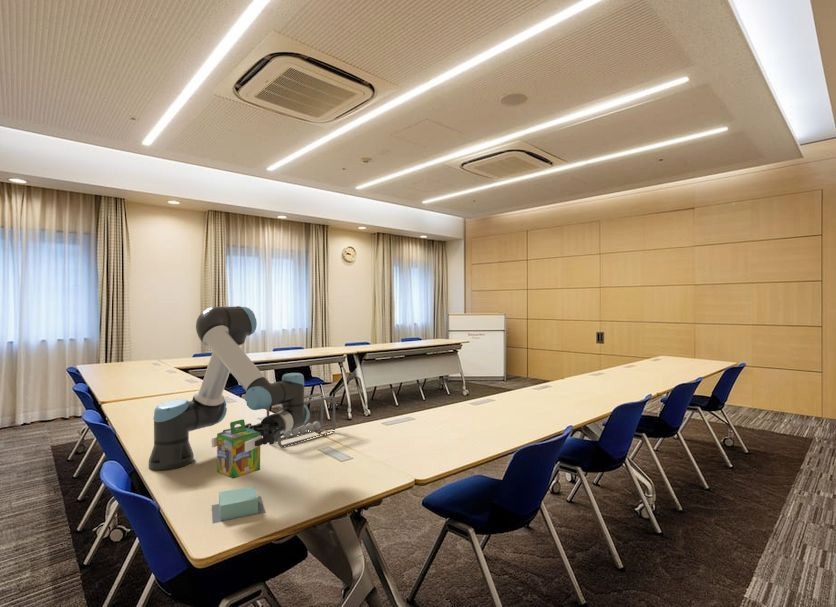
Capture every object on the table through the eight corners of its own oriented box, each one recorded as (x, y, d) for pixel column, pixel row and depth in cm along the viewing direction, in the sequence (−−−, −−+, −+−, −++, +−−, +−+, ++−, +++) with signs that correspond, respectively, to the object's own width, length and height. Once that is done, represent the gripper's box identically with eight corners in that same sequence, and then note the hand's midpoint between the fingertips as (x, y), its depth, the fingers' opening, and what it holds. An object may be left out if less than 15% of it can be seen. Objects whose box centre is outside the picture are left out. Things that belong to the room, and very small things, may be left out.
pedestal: (220, 520, 122) (220, 505, 122) (219, 505, 131) (219, 492, 131) (258, 512, 127) (258, 498, 127) (254, 498, 136) (254, 485, 136)
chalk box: (232, 480, 123) (232, 427, 123) (215, 472, 128) (215, 422, 128) (261, 470, 130) (261, 420, 130) (244, 463, 136) (244, 415, 136)
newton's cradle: (278, 448, 185) (279, 407, 185) (266, 443, 191) (266, 403, 191) (335, 433, 207) (335, 395, 207) (322, 428, 214) (322, 392, 214)
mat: (212, 525, 121) (212, 523, 121) (211, 507, 131) (211, 505, 131) (265, 514, 127) (265, 512, 127) (260, 498, 138) (260, 496, 138)
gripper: (306, 439, 143) (263, 462, 122) (247, 432, 150) (196, 453, 129) (306, 416, 143) (263, 435, 122) (247, 410, 150) (196, 428, 129)
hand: (229, 444), depth 125 cm, fingers closed on chalk box, 11 cm apart
